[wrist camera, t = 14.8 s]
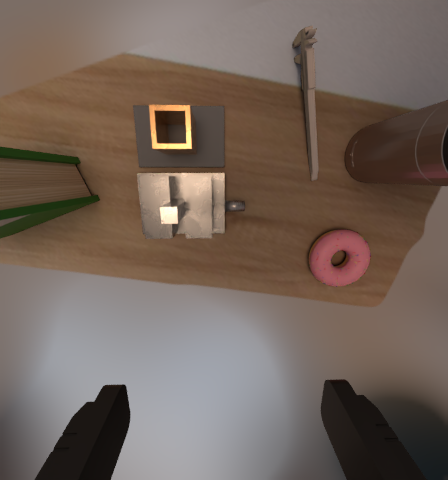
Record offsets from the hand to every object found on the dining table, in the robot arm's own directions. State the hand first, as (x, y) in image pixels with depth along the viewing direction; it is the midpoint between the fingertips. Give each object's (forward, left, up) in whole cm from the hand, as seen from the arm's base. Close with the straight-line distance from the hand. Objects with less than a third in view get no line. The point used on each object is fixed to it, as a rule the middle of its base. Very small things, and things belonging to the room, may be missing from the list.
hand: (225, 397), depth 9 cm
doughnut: (-22, +6, -33) cm, 40 cm away
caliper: (-14, -18, -33) cm, 40 cm away
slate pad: (+6, -15, -33) cm, 37 cm away
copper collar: (+6, -14, -32) cm, 36 cm away
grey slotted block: (+5, -4, -33) cm, 33 cm away
